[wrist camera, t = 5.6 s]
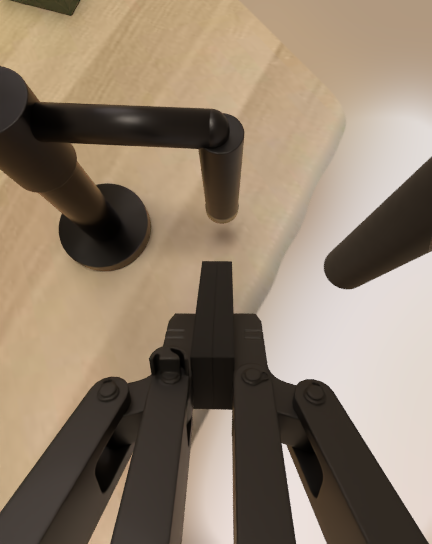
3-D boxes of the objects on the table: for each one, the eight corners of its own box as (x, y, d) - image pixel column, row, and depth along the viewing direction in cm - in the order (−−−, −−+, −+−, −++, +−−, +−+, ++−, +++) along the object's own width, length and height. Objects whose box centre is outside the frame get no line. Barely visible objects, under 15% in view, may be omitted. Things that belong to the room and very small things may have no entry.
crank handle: (51, 224, 27) (-69, 136, 16) (60, 177, 28) (-46, 63, 17) (236, 234, 27) (245, 150, 15) (239, 185, 28) (249, 73, 16)
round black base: (163, 204, 34) (132, 129, 23) (131, 282, 33) (79, 244, 21) (87, 180, 35) (19, 96, 24) (51, 255, 33) (-42, 204, 22)
